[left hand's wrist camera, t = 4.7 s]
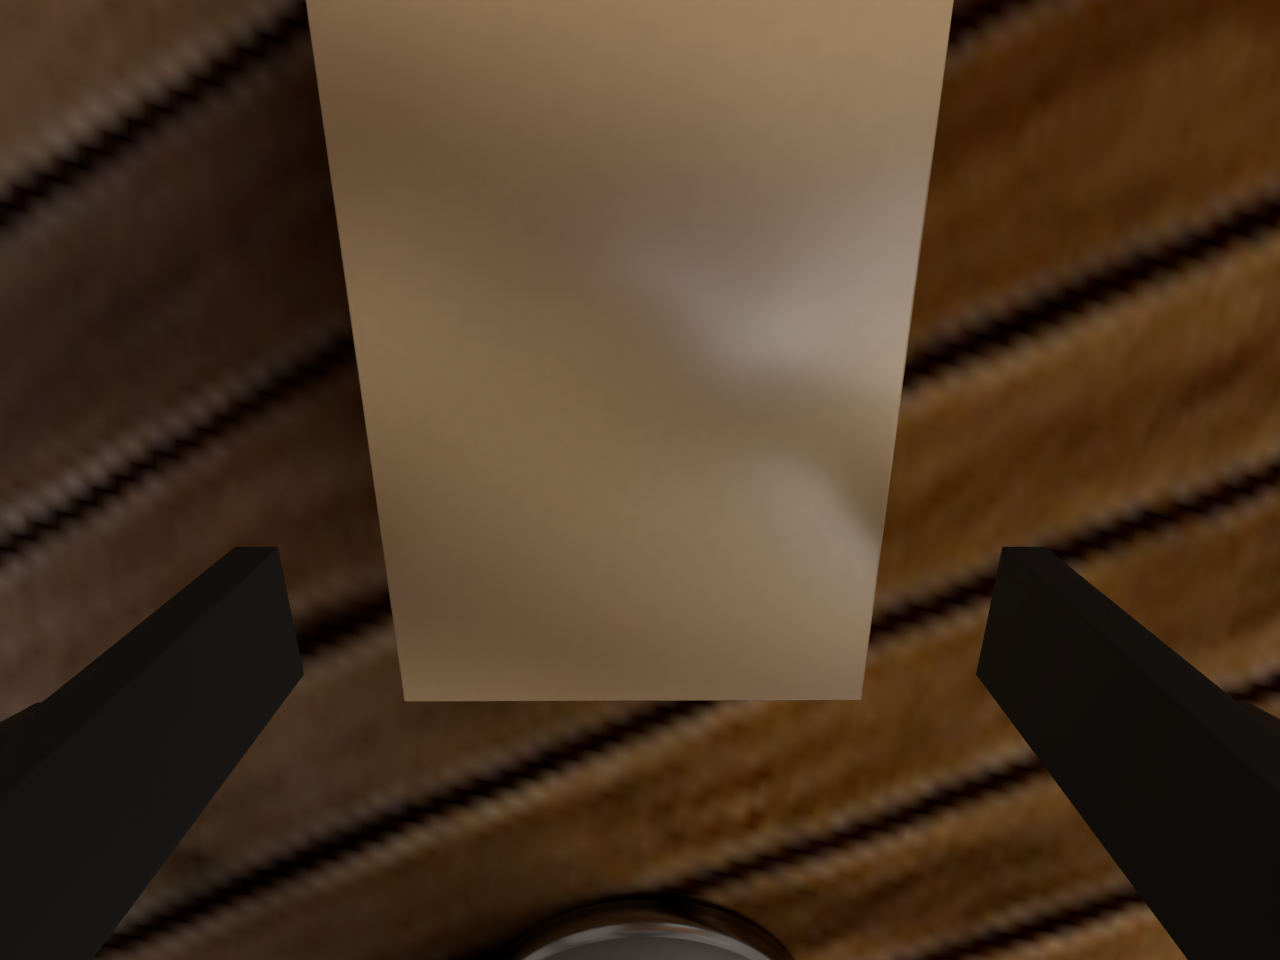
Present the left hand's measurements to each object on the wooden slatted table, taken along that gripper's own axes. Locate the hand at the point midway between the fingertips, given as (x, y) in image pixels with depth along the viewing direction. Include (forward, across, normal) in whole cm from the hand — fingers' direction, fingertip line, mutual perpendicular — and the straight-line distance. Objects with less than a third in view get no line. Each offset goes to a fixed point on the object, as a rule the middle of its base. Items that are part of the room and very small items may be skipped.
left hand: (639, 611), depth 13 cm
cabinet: (+10, 0, -7) cm, 13 cm away
